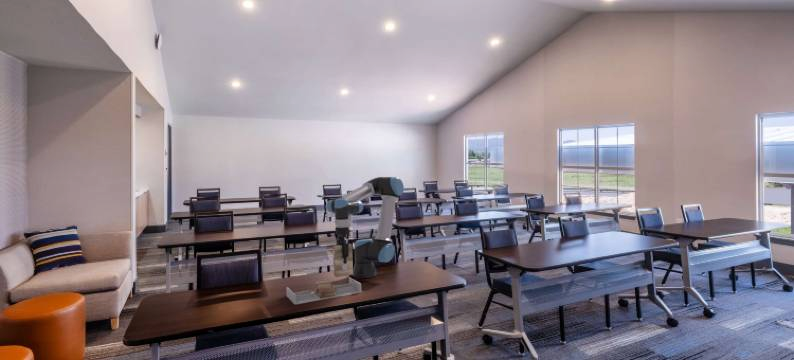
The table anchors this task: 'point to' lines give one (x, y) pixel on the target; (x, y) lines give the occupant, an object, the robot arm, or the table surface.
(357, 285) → the rack
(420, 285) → the table surface
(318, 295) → the offcut bottom
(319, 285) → the offcut top
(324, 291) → the offcut middle
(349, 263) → the tan wooden block
